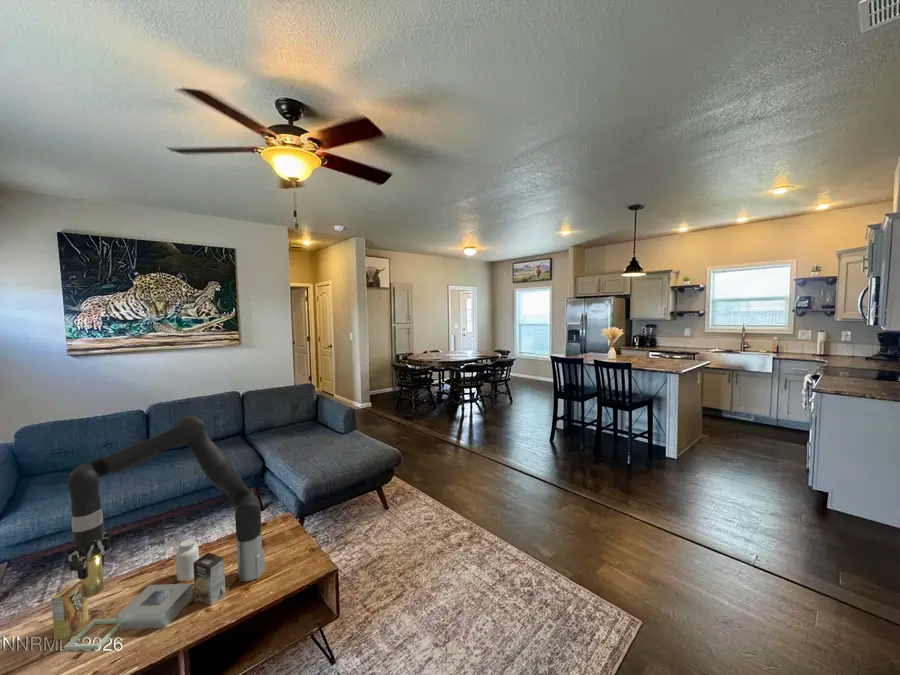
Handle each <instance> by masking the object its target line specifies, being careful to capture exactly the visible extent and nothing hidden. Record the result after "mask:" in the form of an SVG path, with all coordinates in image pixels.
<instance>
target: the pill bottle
mask: <svg viewBox="0 0 900 675" xmlns="http://www.w3.org/2000/svg"><path fill="white" fill-rule="evenodd" d="M195 542H196V540H195V539H192V538H188V539H185V540H183V541H181V542H180V543H179V546H178V547H179V549H178V550H177V551H176V554H175V565H176V566H175V568H176V580H177V581H179V582H186V581H189V580H192V579H194V566H193V563H194V562H195V561H196V560H198V559H199V558H200V549H199V546H198V545H197V544H196V543H195Z"/></svg>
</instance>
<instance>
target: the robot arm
mask: <svg viewBox="0 0 900 675" xmlns="http://www.w3.org/2000/svg"><path fill="white" fill-rule="evenodd" d="M181 445H186V446H187V447H188V448H189V449H190V451H191V452H192V453H193V456H194V457H195V459H196V460H197V463H198V464H199V466H200V468H201V470H202V472H203V473H204V474H205V475H206V477H207V478H208V480H209V481H210V482H211V483H212V485H213V486H214V487H216V488H217V489H219V491H221V492H223V493H224V494H225V495H226V496H227V497H228V498H229V500H230V503H231V504H232V505H233V507H234V517H235V519H234V520H235V537H236V556H237V571H238V572H237V575H238V580H239V581H240V582H244V583H246V582H248V583H249V582H251V581H254V580H259V578H260V577H261V576H262V574H263V573H264V571H265V570H266V563H265V562H266V561H265V558H266V557H265V549H264V548H263V543H262V541H263V540H262V538H263V537H262V515H261V514H262V512H261V510H262V509H261V504H260V503H261V502H260V500H259V498H258V497H257V496H256V495H255V494H254V493H253V491H251V489H249V487H248V486H247V485H246V484H245V483H244V481H243V479H242V477H241V475H240V473H239V472H238V470H237V469H236V467H235V466H234V464H233V463H232V462H231V460H230V459H229V458H228V456H227V455H226V453H224V452H223V451H222V449H221V448H220V447H218V446H217V444H215V443H214V441H212V439H211V438H210V436H209V434H208V433H207V431H206V425H205V422H204V421H203V420H202V419H201V418H199V417H197V416H194V415H185V416H183V417H181V418H179V419H178V420H177V421H176V423H175V425H174V427H172V428H170V429H169V430H167V431H165V432H163V433H161V434H158V435H156V436H153V437H151V438H148V439H143V440H142V441H139V442H136V443H133V444H130V445H128V446H125V447H123V448H121V449H118V450H116V451H114V452H111V453H109V454H108V455H105V456H101V457H98V458H95V459H92V460H89V461H86V462H84V463H82V464H80V465H78V466H76V467H75V468H73V469H72V471H70V472H69V473H70V474H69V476H68V489H69V495H70V500H71V503H70V505H71V506H70V507H71V508H70V509H71V532H72V542H73V544H75V550H74V552H72V553H71V554H68V555H66V556H65V561H66V563H67V566H68V570H69V571H70V572H76V571H77V579H78V580H80V579H86V578H87V577H88V574H87V567H86V566H87V562H88V560H89V559H90V556H91V554H92V553H93V552H100V553H101V555H102V567H104V564H105V554H106V551H108V550H110V545H111V537H112V536H111V535H112V532H111V531H105V526H104V514H103V510H102V503H101V496H100V495H101V494H100V492H99V490H100V488H99V486H100V484H99V479H100V478H102V477H104V476H107V475H109V474H119V473H120V472H123V471H124V470H127V469H129V468H131V467H133V466H134V465H137V464H140V463H141V462H143V461H145V460H147V459H149V458H151V457H154V456H156V455H157V454H160V453H163V452H166V451H167V450H170V449H172V448H175V447H178V446H181ZM83 556H86V557H85V558H82V557H83ZM82 561H83V564H82V565H81V562H82Z"/></svg>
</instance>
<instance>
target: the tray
mask: <svg viewBox="0 0 900 675" xmlns="http://www.w3.org/2000/svg"><path fill="white" fill-rule="evenodd" d="M102 624H103V625H106V624H110V625H111V624H116V625H115V626H114V627H113V628H112V629H111V630H109V632H108V633H107V634H106V635H105V636H103V637H102V639H101V640H99V641H98V642H97V643H78V644H77V643H76V642H77V641H78V640H79V639H81V637H83V636H84V635H85V634H86V633H87V632H88V631H89V630H90V629H92V627H94V626H95V625H102ZM118 630H120V629H119V618H118V617H117V618H94V619H93V620H92V621H91V622H89V624H88V625H86V626H85V627H84V628H83V629H81V631H79V633H78V634H76V635H75V636H74V637H73V638H72V639H70V641H69V642H67V643H66V644H65V645H64V646H63V651H73V650H74V651H77V650H99V649H100V648H101V647H102V646H103V645H104V644H105V643H106V642H107V641H108V640H109V639H110V638H111V637H112V636H113V635H114V634H115V633H116V632H117V631H118Z"/></svg>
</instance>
